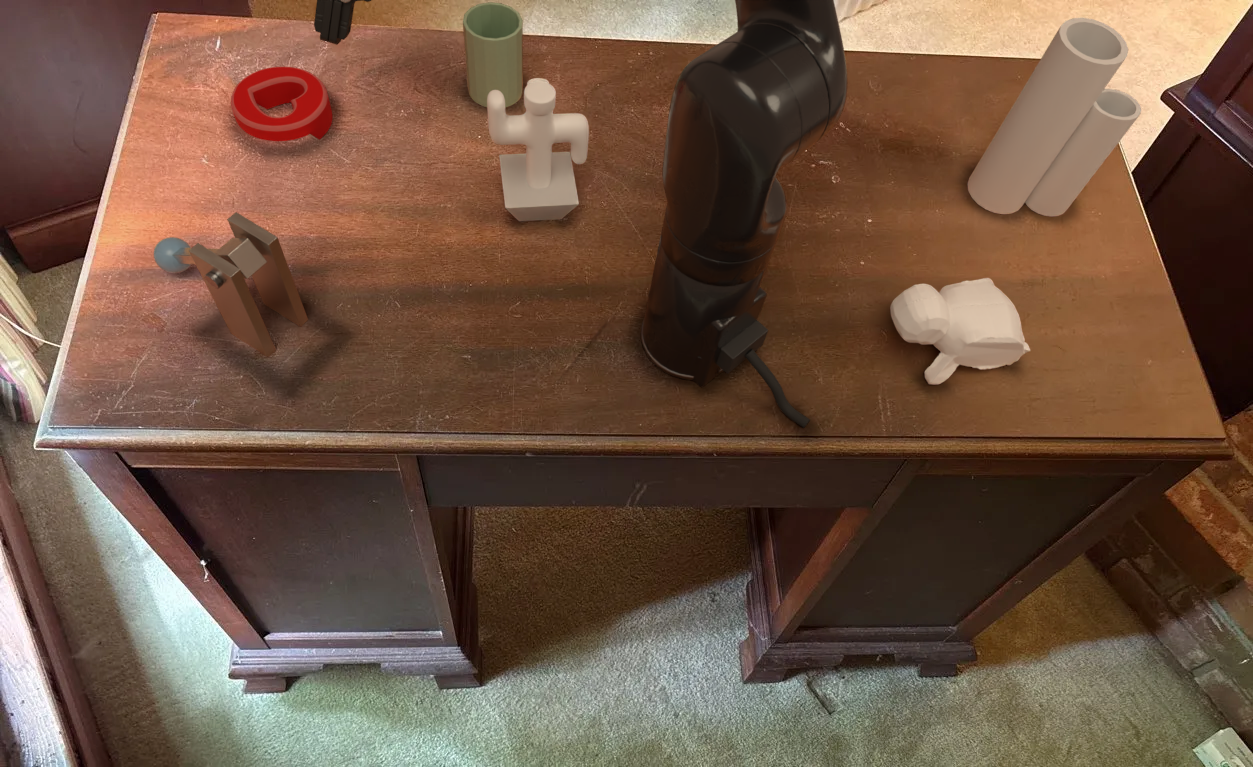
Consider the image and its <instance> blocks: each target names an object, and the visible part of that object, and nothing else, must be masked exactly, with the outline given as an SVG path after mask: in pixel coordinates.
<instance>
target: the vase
mask: <svg viewBox="0 0 1253 767" xmlns="http://www.w3.org/2000/svg"><path fill="white" fill-rule="evenodd" d="M1128 53H1129V46H1128V44H1127V41H1126V40H1125V39H1124V37H1123V36H1122V34H1120V33H1119V32H1118V31H1117V30H1116V29H1115V28H1114V27H1111V26H1110V25H1108V24H1106V23H1104V22H1102V21H1100V20H1096V19H1095V18H1094V19H1093V18H1090V17H1089V18H1088V17H1072V18H1069V19H1067V20H1065V21H1064V22H1063V23H1062V24H1061V25H1060V26H1059V28H1058V30H1057V31H1056V33H1055V35H1054V36H1053V38H1052V40H1051V41H1050V43H1049V44H1048V46H1047V47H1046V50H1045V51H1044V53H1043V55H1042V56H1041V58H1040V59H1039V61H1038V63H1037V64H1036V66H1035V67H1034V69H1033V71H1032V73H1031V74H1030V76H1029V78H1028V79H1027V81H1026V83H1025V84H1024V86H1023V88H1022V89H1021V91H1020V92H1019V95H1018V96H1017V97H1016V100H1015V101H1014V103H1013V105H1012V106H1011V108H1010V110H1009V111H1008V112H1007V113H1006V116H1005V118H1004V119H1003V121H1002V123H1001V124H1000V126H999V128H998V130H997V131H996V133H994V134H995V135H994V136H993V138H992V139H991V141H990V143H989V145H988V146H987V147H986V149H985V151H984V152H983V155H981V158H980V159H979V161H978V163H977V164H976V166H975V168H974V170H973V171H972V173H971V174H970V176H969V178H968V181H967V183H966V184H967V191H968V193H969V195H970V197H971V199H972V200H973V201H974V202H975V203H976V204H977V205H978V206H979V207H981V208H982V209H985V210H986V211H989V212H990V213H994V214H999V215H1000V214H1001V215H1010V214H1014V213H1016V212H1018V211H1019V210H1020V209H1021V208H1022V207H1023V206H1024V204H1025V205H1026V206H1027V207H1028V208H1029V209H1030V210H1031V211H1032V212H1034V213H1036V214H1038V215H1040V216H1045V217H1059V216H1061V215H1064V214H1065V213H1066V212H1067V211H1068V209H1069V208H1070V207H1071V205H1072V204H1073V203H1074V202H1075V200H1076V199H1077V198H1078V197H1079V195H1080V194H1081V193H1082V191H1083V190H1084V188H1085V187H1086V186H1087V185H1088V183H1089V182H1090V180H1091V179H1092V178H1093V177H1094V175H1095V174H1096V173H1097V171H1098V170H1099V169H1100V168H1101V167H1102V165H1103V164H1104V162H1105V161H1106V160H1107V158H1108V157H1109V156H1110V155H1111V154H1112V152H1113V150H1114V149H1115V148H1116V147H1117V145H1118V144H1119V143H1120V142H1121V141H1122V139H1123V138H1124V136H1125V135H1126V134H1127V133H1128V131H1129V130H1130V128H1132V126H1133V125H1134V124H1135V122H1136V121H1137V120H1138V118H1139V117H1140V115H1141V113H1142V107H1141V104H1140V103H1139V102H1138V100H1137V99H1136V98H1134V97H1133V96H1132V95H1130V94H1129V93H1127V92H1125V91H1122V90H1119V89H1116V88H1115V89H1113V88H1106V87H1107V86H1108V84H1109V83H1110V82H1111V80H1112V78H1113V77H1114V76H1115V74H1116V73H1117V71H1118V70H1119V69H1120V67H1121V66H1122V65H1123V63H1124V62H1125V60H1126V59H1127V58H1128V55H1129V54H1128Z"/></svg>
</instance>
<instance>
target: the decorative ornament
mask: <svg viewBox="0 0 1253 767" xmlns="http://www.w3.org/2000/svg"><path fill="white" fill-rule="evenodd" d="M283 104H284V105H285V104H291V108H292V111H291V113H288V114H287V115H285V116H277V117H276V116H270V115H269V114H267V113H265V112H264V111H263V110H262V109H261V108H260V107H262V108H263V109H265V110H269V109H272V108H274V107H277V106H281V105H283ZM230 108H231V111H232V114H233V117H234V119H235V121H236V123H237V125H238V126H239V128H240V129H241V130H242V131H244V132H245V133H246V134H247V135H249V136H251V137H254V138H256V139H260V140H263V141H270V142H288V141H294V140H297V139H298V140H299V139H301V138H304V137H306V136H308V135H311V136H312V137H314V138H316V139H317V140H321V139H322V138H323V137H325V135H326V134H327V133H328V131H329V130H330V128H331V126H332V123H333V117H334V116H333V110H332V106H331V102H330V98H329V93H328V90H327V87H326V85H325V84H324V82H323V81H322V80H321V79H320V78H319V77H317V76H316V75H315V74H313V73H311V72H310V71H307V70H305V69H302V68H299V67H294V66H270V67H266V68H261V69H259V70H256V71H254V72H252V73H250V74H248V75H246V76H245V77H244V78H243V79H242V80H240V81H239V82H238V83H237V84H236V86H235V87H234V88H233V91H232V93H231V97H230Z"/></svg>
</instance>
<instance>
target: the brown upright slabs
mask: <svg viewBox="0 0 1253 767" xmlns="http://www.w3.org/2000/svg"><path fill="white" fill-rule="evenodd" d="M227 222H228V225H229V227H230V229H231V232H232V234H233V236H234V238H248V239H249V240H250V241H251V242H252V243H253V245H254V246H255V247H256V248H257V250H258V251H259V252H260V253H261V255H262V256H263V257H264V258H265V259H266V261H267V263H265V264H264V265H263V266H262V267H261V268H260V269H259V270H257V271H256V272H255V273H254V274H253V275H252V276H251V278H252V280H253V282H254V286H255V287H256V290H257V292H258V294H259V296H260V299H261V301H262V303H263V305H265V306H266V307H267V308H268V309H271V310H273V311H274V312H275V313H277V314H279V315H280V316H282V317H283V318H285V319H287V320H289V321H290V322H292V323H293V324H295V325H296V326H298V327H299V328H301V327H303V325H305V324H306V323H307V322H308V321H309V318H308V315H307V313H306V310H305V308H304V305H303V302H302V299H301V296H300V294H299V292H298V289H297V286H296V284H295V280H294V278H293V275H292V272H291V270H290V267H289V264H288V261H287V259H286V256H285V253H284V251H283V248H282V246H281V243H280V240H279V238H278V236H276V235H275V234H273V233H272V232H270V231H268V230H267V229H265V228H264V227H262V226H260V225H259V224H257V223H255V222H254V221H252V220H250V219H248V218H247V217H246V216H244V215H242V214H240V213H239V212H237V211H236V212H234V213H233V214H231V215H230V216H229V217H228V218H227ZM207 248H208V247H205V246H204V245H202V244H201V243H199V242H197V243H196V244H195V245H193V246H192V247H191V249H190V250H189V253H190V254H191V256H192V258H193V260H194V262H195V264H194V265H195V266H196V268H197V270H198V272H199V274H200V276H201V278H202V280H203V282H204V284H205V286H206V288H207V289H208V291H209V294H210V295H211V297H212V299H213V301H214V303H215V306H216V307H217V309H218V311H219V313H220V315H221V317H222V319H223V321H224V323H225V325H226V327H227V328H228V331H229V332H230V334H231V335H233V336H234V337H236V338H237V339H239V340H240V341H242V342H243V343H245V344H246V345H248V346H249V347H251V348H253V349H254V350H256V351H257V352H259V353H260V354H262V355H263V356H265V357H266V358H270V356H272V355H273V354H274V353H275V352H276V351H277V348H276V346H275V344H274V342H273V339H272V338H271V335H270V333H269V331H268V328H267V326H266V324H265V322H264V320H263V317H262V315H261V313H260V310H259V309H258V306H257V304H256V302H255V300H254V297H253V295H252V293H251V291H250V288H249V287H248V286H249V285H248V284H247V282H246V279H244V277H243V275H242V272H241V270H240V269H239V268H237V267H236V266H234V265H233V264H231V263H229V262H228V261H226V260H225V259H223V258H221V257H220V256H218V255H217V254H215V253H213V252H212V251H210V250H209V249H207Z"/></svg>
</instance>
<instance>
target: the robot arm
mask: <svg viewBox="0 0 1253 767" xmlns="http://www.w3.org/2000/svg"><path fill="white" fill-rule="evenodd" d="M361 1H364V2H368V3H369V2H372V0H316V6H315V14H314V21H313V26H314V30H315V32H316V33H320V34H319V40H320V41H322V42H326V43H329V44H333V45H336V46H338V45H339V44H340V43H341V42H342V40H343V41H344V40H345V39H346V38H348V37H349V35H350V33H351V30H352V23H353V17H354V10H355V9H354V8H355V4H356V2H361ZM734 3H735V10H736V19H737V20H736V21H737V22H736V23H737V30H736V32H735V33H733V34H731V35H730V36H729V37H727V38H725V39H723V40H722V41H720V42H719V43H717V44H716V45H714V46H712V47H710V48H709V49H707V50H706V51H705V52H703V53H701V54H699V55H698V56H697V57H695V58H694V59H693V58H692V60H691V61H690V62H688V63H687V64H686V66H684V68H683V69H682V71H681V72H680V74H679V76H678V78H677V80H676V82H675V85H674V88H673V91H672V94H671V99H670V103H669V109H668V116H667V123H666V133H665V140H664V141H665V144H664V150H663V160H662V172H661V173H662V177H661V178H662V184H663V190H664V193H665V197H666V205H665V206H666V207H665V212H664V216H663V223H662V227H661V231H660V236H659V241H658V247H657V253H656V256H655V262H654V267H653V271H652V272H653V273H652V276H651V283H650V287H649V291H648V295H647V296H648V297H647V301H646V306H645V307H646V308H645V313H644V317H643V319H642V322H641V328H640V342H641V345H642V348H643V351H644V353H645V355H646V356H647V358H648V360H649V361H650V362H651V363H652V364H653V365H654V366H655V367H656V368H658V369H659V370H660V371H662V372H663V373H665V374H667V375H670V376H672V377H674V378H677V379H681V380H688V381H693V382H695V384H697V385H698V386H699V387H701V388H704V387H705V386H706V385H707V384H709V383H711V381H713V380H714V379H715V378H717V376H719V375H721V374H722V373H723V372H724V373H726V374H730V373H731V372H732V371H733V370H734V369H736V368H737V367H738V366H740V365H741V364H742V363H743V362H745V360H747V361H748V362H749V364H751V366H752V368H753V369H755V371H756V372H757V373H758V375H759V376H760V377H761V378H762V379H763V381H764V383H766V385H767V387H768V388H769V389H770V391H771V393H772V395H773V397H774V400H775V403H776V405H777V406H778V408H779V409H780V411H781V412H782V413H783V414H784V415H785V416H786V418H788V419H790V420H791V421H792V422H793V423H796V424H797V425H798V426H800V427H802V429H804V428H806V426H807V425H808V424H809V423H810V421H811V419H810V418H809V417H807V416H806V415H804V413H803V414H802V413H801V412H800V411H799V410H797V409H795V408H794V406H792V404H791V403H790V402H789V401H788V399H787V398H786V395H785V392H784V390H783V387H782V385H781V384H780V382H779V381H778V379H777V378H776V375H775V374H774V373H773V372H772V371H771V370H770V368H769V367H768V365H766V363H765V362H764V361H763V360H762V358H760V356H759V355H758V354H757V353H756V352H757V351H758V350H760V348H761V347H763V344H764V342H765V340H766V337H767V335H768V332H769V329H768V328H767V327H765V325H763V323H761V322H760V321H759V317H760V315H761V312H762V309H763V306H764V304H765V302H766V299H767V296H768V292H767V291H766V290H765V289H764V288H762V286H761V285H762V283H763V280H764V277H765V275H766V271H767V269H768V267H769V263H770V261H771V258H772V256H773V253H774V250H775V247H776V245H777V242H778V239H779V237H780V235H781V232H782V230H783V227H784V224H785V221H786V217H787V213H788V199H787V196H786V191H785V188H784V187H783V185H782V183H781V182H780V180H779V179H778V178H777V175H778V174H779V172H780V171H781V170H782V169H784V168H785V167H786V166H787V165H789V164H790V163H791V162H793V161H794V160H796V159H797V158H798V157H800V156H801V155H802V154H804V153H805V152H806V151H807V150H809V149H810V148H811V147H813V146H814V145H815V144H817V143H818V142H819V141H820V140H821V139H822V138H823V137H825V136H826V135H827V134H828V133H829V132H831V131H832V129H833V128H834V127H835V126H836V125H837V123H838V121H839V120H840V118H841V116H842V114H843V112H844V110H845V106H846V102H847V97H848V83H849V82H848V68H847V59H846V54H845V48H844V47H845V46H844V42H843V36H842V33H841V28H840V23H839V19H838V14H837V10H836V5H835V0H734Z"/></svg>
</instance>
